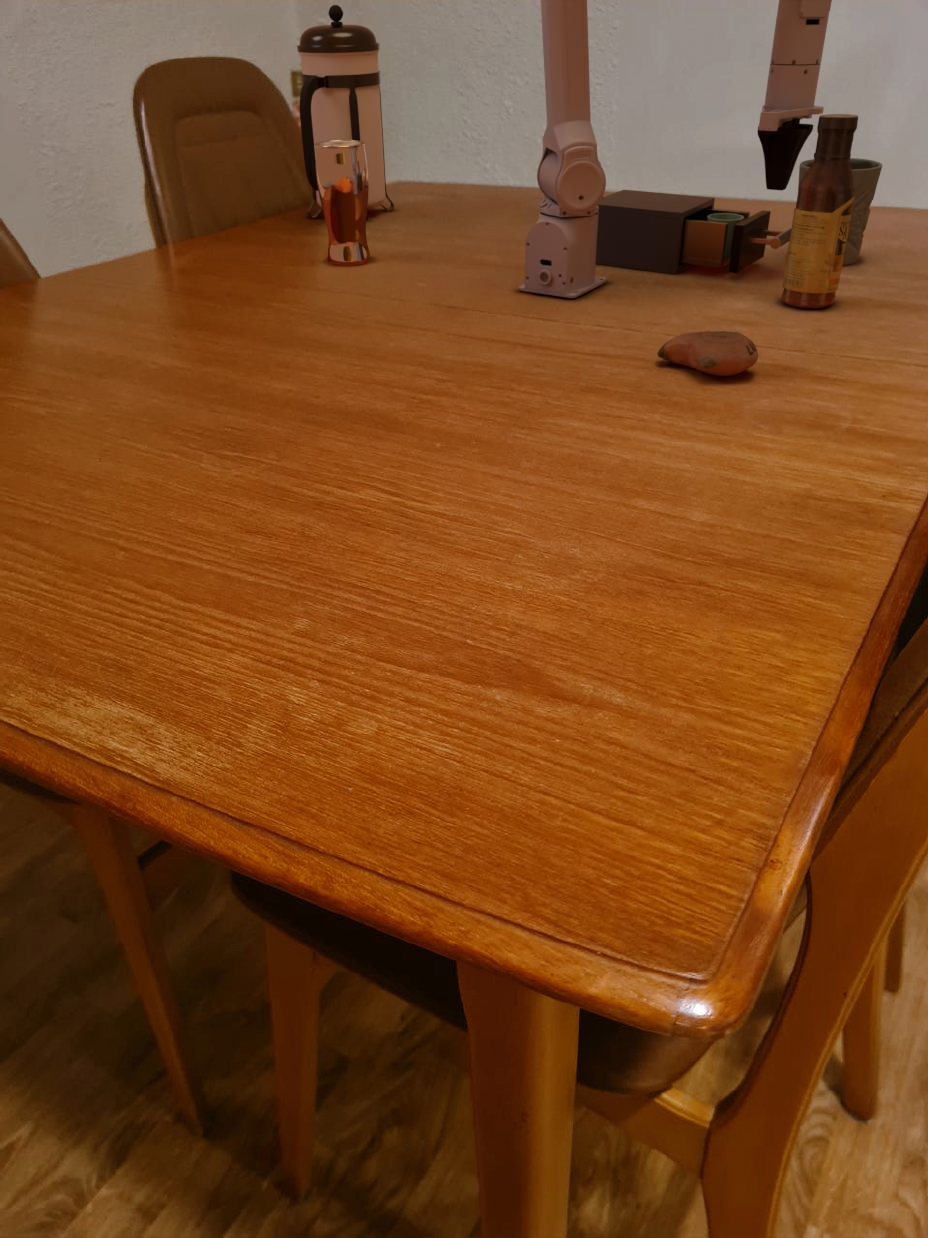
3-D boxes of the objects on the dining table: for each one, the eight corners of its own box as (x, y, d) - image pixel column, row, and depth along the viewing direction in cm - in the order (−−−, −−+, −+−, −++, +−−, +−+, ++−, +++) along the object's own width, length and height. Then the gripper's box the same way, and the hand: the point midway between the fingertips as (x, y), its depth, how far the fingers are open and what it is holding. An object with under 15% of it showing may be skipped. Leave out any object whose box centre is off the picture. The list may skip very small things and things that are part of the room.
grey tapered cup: (878, 262, 129) (899, 165, 122) (817, 270, 126) (835, 171, 119) (828, 247, 137) (845, 154, 130) (769, 254, 134) (784, 160, 127)
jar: (731, 258, 124) (736, 221, 122) (698, 254, 126) (702, 217, 124) (743, 250, 127) (748, 214, 125) (710, 247, 129) (715, 211, 127)
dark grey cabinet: (708, 255, 134) (715, 197, 129) (675, 274, 126) (682, 212, 121) (619, 245, 140) (623, 189, 136) (583, 262, 132) (586, 202, 128)
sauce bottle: (837, 311, 110) (875, 118, 99) (781, 309, 111) (813, 118, 100) (831, 296, 116) (866, 111, 105) (777, 294, 117) (807, 111, 106)
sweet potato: (717, 359, 100) (649, 370, 97) (719, 319, 98) (650, 330, 95) (770, 375, 92) (698, 387, 90) (773, 332, 90) (700, 343, 88)
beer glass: (377, 254, 137) (370, 139, 129) (368, 266, 132) (360, 146, 123) (330, 254, 138) (319, 139, 130) (319, 266, 132) (308, 146, 124)
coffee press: (294, 209, 166) (272, 5, 150) (383, 202, 170) (371, 2, 154) (311, 229, 153) (289, 6, 136) (408, 221, 156) (398, 3, 140)
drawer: (795, 260, 127) (803, 213, 124) (770, 277, 120) (778, 228, 117) (677, 246, 135) (681, 202, 132) (646, 262, 128) (650, 215, 124)
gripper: (811, 68, 105) (790, 201, 112) (846, 60, 115) (825, 182, 123) (748, 67, 108) (732, 196, 116) (788, 58, 118) (770, 178, 126)
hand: (776, 188), depth 119 cm, fingers closed
